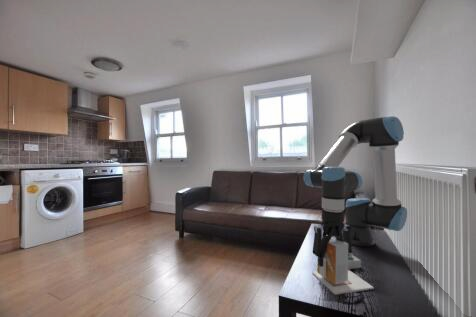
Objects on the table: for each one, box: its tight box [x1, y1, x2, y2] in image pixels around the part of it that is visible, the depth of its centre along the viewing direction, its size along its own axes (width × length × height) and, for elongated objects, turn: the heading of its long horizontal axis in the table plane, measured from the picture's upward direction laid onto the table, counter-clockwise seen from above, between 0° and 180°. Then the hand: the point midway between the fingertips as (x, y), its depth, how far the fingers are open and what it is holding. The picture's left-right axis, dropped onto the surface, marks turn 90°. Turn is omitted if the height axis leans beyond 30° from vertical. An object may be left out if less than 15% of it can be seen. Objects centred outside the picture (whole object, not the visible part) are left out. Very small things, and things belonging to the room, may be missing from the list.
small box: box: [317, 236, 349, 285], centre depth 75 cm, size 8×6×13 cm
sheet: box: [312, 269, 375, 295], centre depth 76 cm, size 15×13×1 cm
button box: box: [348, 254, 362, 270], centre depth 88 cm, size 7×7×3 cm
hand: (332, 273), depth 75 cm, fingers closed on small box, 7 cm apart
